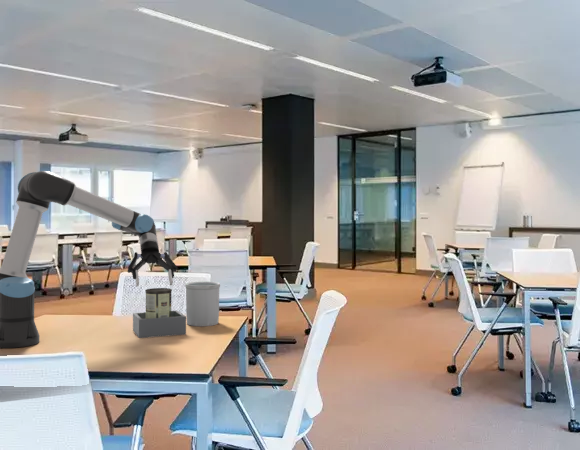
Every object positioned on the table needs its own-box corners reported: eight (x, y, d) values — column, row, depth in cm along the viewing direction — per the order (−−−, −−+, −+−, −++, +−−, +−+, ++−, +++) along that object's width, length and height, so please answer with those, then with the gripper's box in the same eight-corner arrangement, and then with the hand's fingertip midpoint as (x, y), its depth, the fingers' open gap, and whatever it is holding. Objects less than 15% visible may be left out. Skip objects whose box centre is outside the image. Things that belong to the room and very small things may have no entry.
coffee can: (156, 321, 227) (156, 287, 227) (176, 323, 223) (177, 288, 223) (139, 325, 218) (139, 290, 218) (160, 328, 213) (160, 291, 213)
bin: (138, 338, 209) (139, 319, 209) (132, 330, 224) (132, 313, 224) (185, 334, 217) (186, 316, 217) (177, 327, 231) (177, 310, 231)
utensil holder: (217, 326, 232) (217, 285, 232) (181, 326, 233) (182, 285, 232) (222, 320, 247) (222, 281, 247) (189, 320, 247) (189, 281, 247)
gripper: (176, 251, 247) (183, 288, 234) (118, 251, 237) (122, 290, 224) (179, 239, 242) (186, 277, 229) (120, 239, 233) (124, 278, 219)
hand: (154, 284), depth 226 cm, fingers open, 13 cm apart
